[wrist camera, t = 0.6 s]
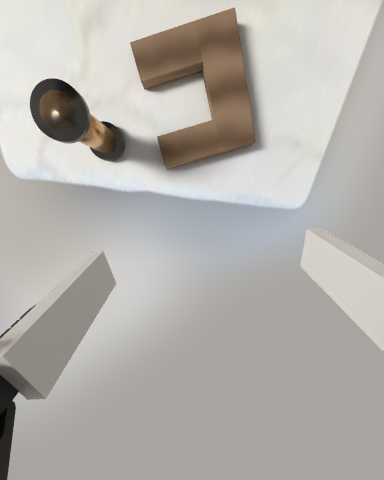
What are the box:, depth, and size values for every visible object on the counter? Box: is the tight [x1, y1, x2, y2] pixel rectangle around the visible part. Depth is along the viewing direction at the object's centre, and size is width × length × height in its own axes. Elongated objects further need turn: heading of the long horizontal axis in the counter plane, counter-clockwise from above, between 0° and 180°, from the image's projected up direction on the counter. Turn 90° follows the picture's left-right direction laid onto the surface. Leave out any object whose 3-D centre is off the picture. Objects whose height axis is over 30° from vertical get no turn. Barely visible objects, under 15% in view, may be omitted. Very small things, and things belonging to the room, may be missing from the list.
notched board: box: [130, 8, 256, 169], centre depth 28 cm, size 18×16×2 cm
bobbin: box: [30, 79, 125, 161], centre depth 25 cm, size 6×6×12 cm
